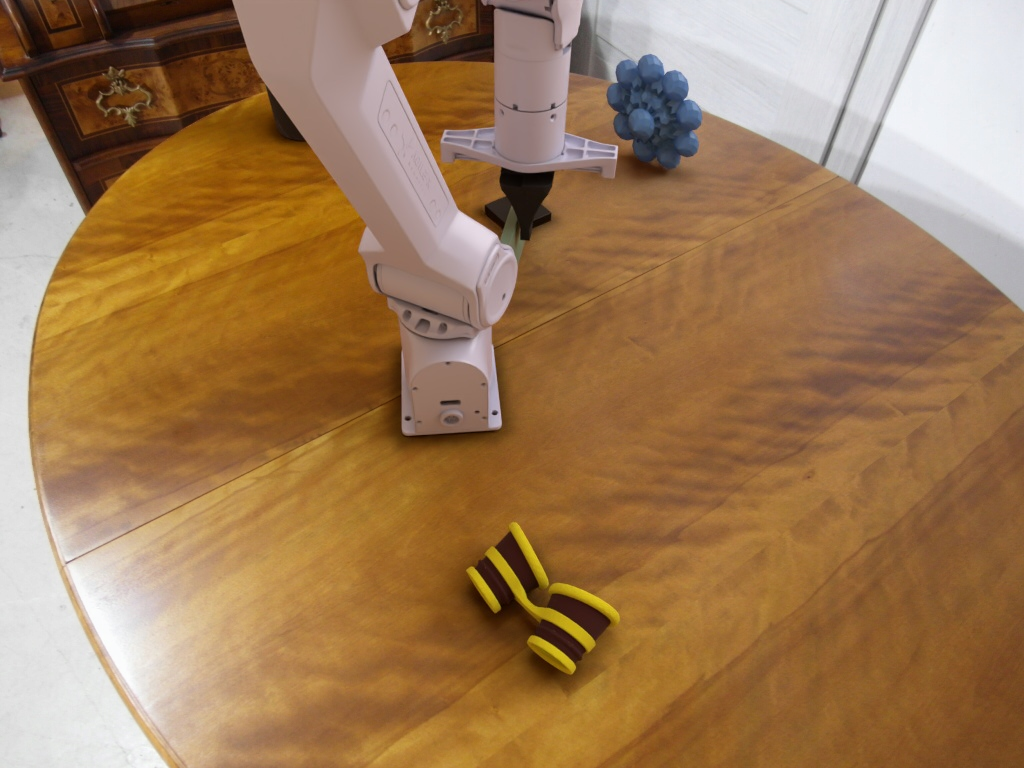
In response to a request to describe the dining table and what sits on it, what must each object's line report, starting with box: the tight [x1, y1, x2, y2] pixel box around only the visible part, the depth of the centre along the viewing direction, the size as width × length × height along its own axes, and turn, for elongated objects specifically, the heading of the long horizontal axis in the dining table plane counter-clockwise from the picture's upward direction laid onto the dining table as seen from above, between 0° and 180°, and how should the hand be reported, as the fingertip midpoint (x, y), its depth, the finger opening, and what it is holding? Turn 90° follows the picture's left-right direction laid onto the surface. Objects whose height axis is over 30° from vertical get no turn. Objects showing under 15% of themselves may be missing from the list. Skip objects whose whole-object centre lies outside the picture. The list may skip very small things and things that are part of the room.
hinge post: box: [484, 195, 552, 230], centre depth 77 cm, size 5×5×10 cm
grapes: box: [605, 53, 703, 170], centre depth 83 cm, size 12×7×12 cm, turn 54°
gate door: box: [499, 206, 526, 267], centre depth 73 cm, size 12×2×6 cm, turn 168°
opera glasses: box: [465, 521, 621, 676], centre depth 51 cm, size 10×5×5 cm, turn 45°
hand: (525, 233), depth 70 cm, fingers closed
